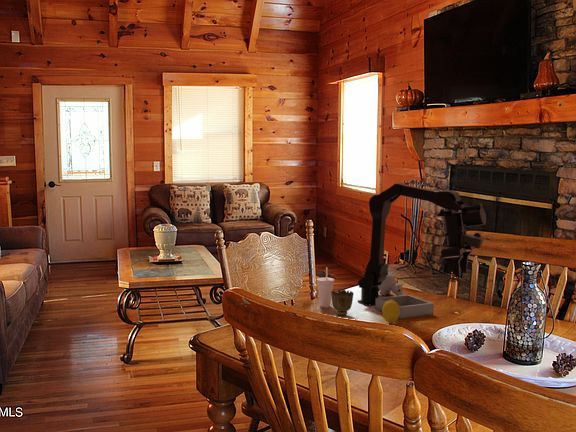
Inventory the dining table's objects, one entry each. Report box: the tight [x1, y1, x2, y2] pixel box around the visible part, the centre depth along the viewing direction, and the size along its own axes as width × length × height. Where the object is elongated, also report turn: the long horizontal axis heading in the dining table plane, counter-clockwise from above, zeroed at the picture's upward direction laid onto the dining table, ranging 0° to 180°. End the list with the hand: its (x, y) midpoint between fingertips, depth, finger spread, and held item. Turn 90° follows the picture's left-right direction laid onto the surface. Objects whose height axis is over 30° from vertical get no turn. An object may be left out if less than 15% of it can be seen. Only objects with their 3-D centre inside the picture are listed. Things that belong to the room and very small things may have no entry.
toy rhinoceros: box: [378, 272, 406, 296], centre depth 235 cm, size 7×12×8 cm, turn 50°
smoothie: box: [316, 267, 335, 308], centre depth 218 cm, size 6×6×14 cm
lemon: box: [381, 299, 400, 325], centre depth 197 cm, size 6×6×8 cm
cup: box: [331, 289, 355, 317], centre depth 206 cm, size 8×7×8 cm
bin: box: [375, 294, 435, 320], centre depth 212 cm, size 14×14×4 cm
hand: (461, 275), depth 204 cm, fingers open, 9 cm apart
